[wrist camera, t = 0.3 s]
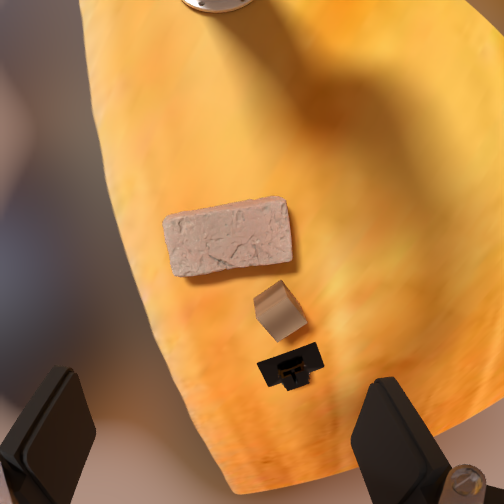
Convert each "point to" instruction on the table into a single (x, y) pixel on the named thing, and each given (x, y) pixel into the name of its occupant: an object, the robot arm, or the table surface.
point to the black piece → (292, 367)
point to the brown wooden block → (279, 311)
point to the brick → (228, 236)
